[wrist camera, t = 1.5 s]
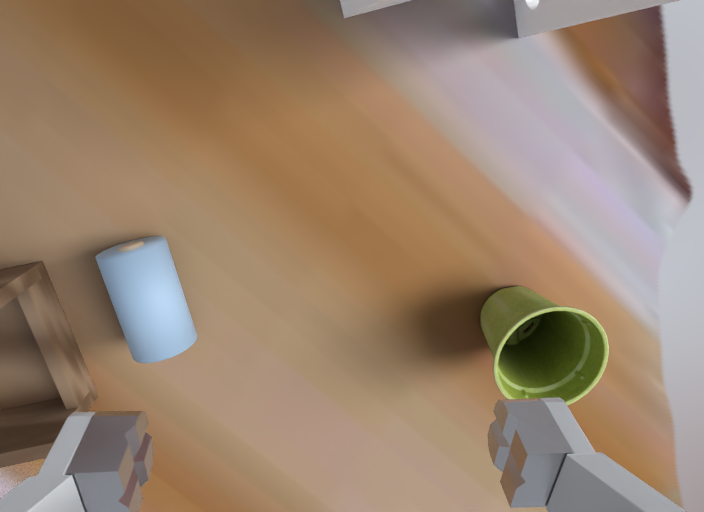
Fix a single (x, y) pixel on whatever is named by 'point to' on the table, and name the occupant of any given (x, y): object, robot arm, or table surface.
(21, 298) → the open wooden box
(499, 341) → the plant pot
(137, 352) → the blue roll
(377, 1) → the white bracket plate
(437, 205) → the table surface
